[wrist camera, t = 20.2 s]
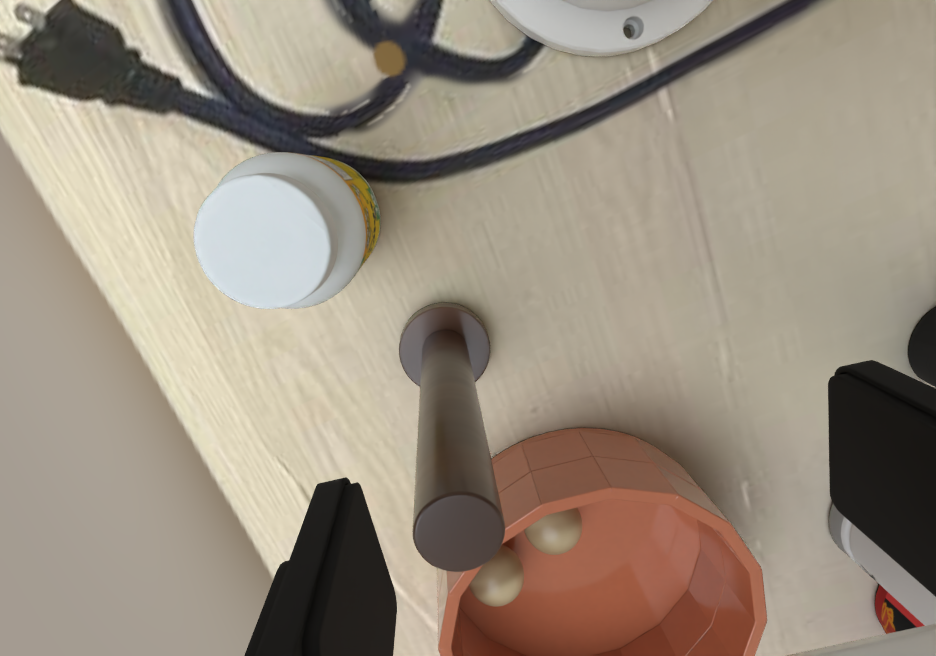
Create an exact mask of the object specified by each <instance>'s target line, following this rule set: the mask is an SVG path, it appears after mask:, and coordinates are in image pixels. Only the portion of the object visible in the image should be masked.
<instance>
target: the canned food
mask: <svg viewBox="0 0 936 656" xmlns="http://www.w3.org/2000/svg"><path fill="white" fill-rule="evenodd" d="M875 609H876V615H877V617H878V619H879V621H880V623H881V625H882V627H883V629H884V630H885V632H886V634H889V633H893V632H898V631H903V630H907V629H912V628H917V627H922V626H925V625H924V624H923V623H921V622H920V621H919V620H918V619H917V618H916V617H915V616H914V615H913V614H912V613H910V612H909V611H908V610H907V609H906V608H905V607H904V606H903V605H902V604H901V603H899V602H898V601H897V600H896V599H895V598H894V597H893V596H892V595H891V594H890V593H888V592H887V591H886V590H885V589H884V588H883V587H882V586H881V585H879V588H878V591H877V594H876V599H875Z"/></svg>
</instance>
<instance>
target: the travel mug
mask: <svg viewBox="0 0 936 656" xmlns="http://www.w3.org/2000/svg"><path fill="white" fill-rule="evenodd" d="M829 527H830V533H831V535H832V538H833V540H834V542H835V543H836V544H837V546H838V547H839V548H840V549H841V550H842V551H843V552H845V553H846V554H847V555H848V556H849V557H850V558H851V559H852V560H853V561H855V562H856V563H857V564H858V565H859V566H860V567H861V568H862V569H863V570H864V571H865V572H867V573H868V574H869V575H870V576H871V577H872V578H873V579H874V580H875V581H876V582H878V583H879V584H880V585H881V586H882V587H883V588H884V589H885V590H886V591H887V592H888V593H890V594H891V595H892V596H893V597H894V598H895V599H896V600H897V601H898V602H899V603H901V604H902V605H903V606H904V607H905V608H906V609H907V610H908V611H909V612H910V613H912V614H913V615H914V616H915V617H916V618H917V619H918V620H919V621H920V622H921V623H923V624H924V625H925V626H926V625H931V624H936V597H935V596H934V595H933V594H932V593H931V592H930V591H928V590H927V589H926V588H925V587H924V586H923V585H922V584H920V583H919V582H918V581H917V580H916V579H915V578H914V577H912V576H911V575H910V574H909V573H908V572H907V571H906V570H904V569H903V568H902V567H901V566H900V565H899V564H898V563H896V562H895V561H894V560H893V559H892V558H891V557H890V556H889V555H887V554H886V553H885V552H884V551H883V550H882V549H881V548H879V547H878V546H877V545H876V544H875V543H874V542H873V541H871V540H870V539H869V538H868V537H867V536H866V535H865V534H863V533H862V532H861V531H860V530H859V529H858V528H857V527H855V526H854V525H853V524H852V523H851V522H850V521H849V520H847V519H846V518H845V517H844V516H843V515H842V514H841V513H840V512H839V511H838V510H837V509H836V507H835V506H834V504H832V507H831V510H830V515H829Z"/></svg>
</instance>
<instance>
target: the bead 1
mask: <svg viewBox="0 0 936 656" xmlns="http://www.w3.org/2000/svg"><path fill="white" fill-rule="evenodd" d="M523 583H524V569H523V565H522V563H521V560H520V558H519V557H518V555H517V554H516V553H515V552H514V551H513V550H512V549H510V548H509V547H507V546H504V545H501V547H500V549H499V550H498V552H497V553H496V555H495V556H494V557H493V558H492V559H491V560H490V561H488V562H487V563H485V564H484V565H483V566H482V567H481V569H480V570H479V571H478V573H477V574H476V576H475V577H474V579H473V580H472V581H471V583H470V584H469V588H470V590H471V592H472V593H473V595H474V596H475V597H476V598H477V599H478V600H479V601H480V602H482V603H484V604H486V605H489V606H494V607H498V606H504V605H506V604H508V603H510V602H512V601H513V600H514V599H515V598H516V597H517V596H518V595H519V593H520V591H521V589H522V586H523Z"/></svg>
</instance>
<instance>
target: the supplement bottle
mask: <svg viewBox="0 0 936 656" xmlns="http://www.w3.org/2000/svg"><path fill="white" fill-rule="evenodd" d="M380 226H381V219H380V211H379V207H378V204H377V201H376V198H375V195H374V193H373V191H372V189H371V187H370V185H369V184H368V183H367V181H366V180H365V179H364V178H363V177H362V176H361V175H360V174H359V173H358V172H357V171H356V170H355V169H353V168H352V167H350V166H348V165H347V164H345V163H342V162H340V161H338V160H334V159H330V158H326V157H320V156H311V155H304V154H297V153H289V152H274V153H267V154H261V155H258V156H255V157H252V158H250V159H247V160H245V161H243V162H241V163H240V164H238V165H237V166H235V167H234V168H233V169H232V170H230V171H229V172H228V173H227V174H226V175H225V176H224V177H223V179H222V180H221V181H220V183H219V184H218V186H217V187H216V189H214V191H213V192H212V193H211V194H210V195H209V196H208V197H207V198H206V199H205V201H204V202H203V204H202V205H201V208H200V210H199V212H198V215H197V218H196V222H195V227H194V246H195V250H196V255H197V258H198V261H199V263H200V265H201V267H202V269H203V271H204V273H205V274H206V275H207V277H208V278H209V280H210V281H211V282H212V283H213V284H214V285H215V286H216V287H217V288H218V289H219V290H220V291H221V292H223V293H224V294H225V295H226V296H228V297H229V298H231V299H233V300H235V301H237V302H239V303H241V304H244V305H247V306H250V307H255V308H260V309H277V308H286V309H297V308H305V307H310V306H313V305H317V304H320V303H322V302H324V301H327V300H328V299H330V298H332V297H333V296H335V295H336V294H338V293H339V292H340V291H341V290H342V289H344V288H345V287H346V286H347V284H348V283H349V282H350V281H351V280H352V278H353V277H354V276H355V274H356V273H357V272H358V270H359V269H360V268H361V266H362V265H363V263H364V262H365V261H366V259H367V258H368V257H369V255H370V254H371V253H372V251H373V249H374V247H375V245H376V243H377V240H378V237H379V233H380Z"/></svg>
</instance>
